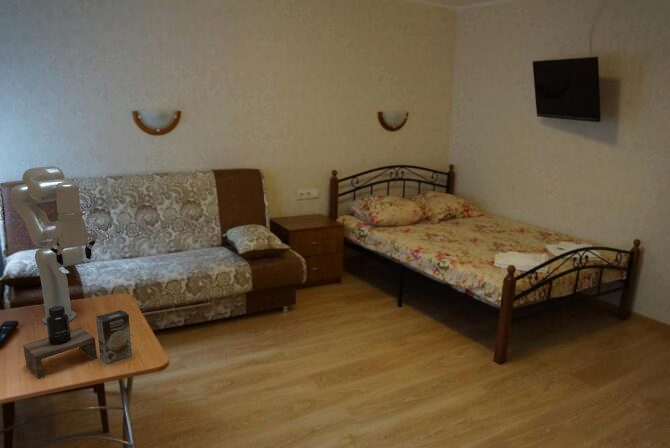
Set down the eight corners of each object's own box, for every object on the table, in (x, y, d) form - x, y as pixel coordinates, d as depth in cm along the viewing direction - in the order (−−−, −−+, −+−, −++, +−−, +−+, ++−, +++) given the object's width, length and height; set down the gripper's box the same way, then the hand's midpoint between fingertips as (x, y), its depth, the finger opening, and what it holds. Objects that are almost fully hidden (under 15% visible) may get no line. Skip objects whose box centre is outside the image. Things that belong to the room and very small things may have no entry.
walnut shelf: (26, 366, 174) (23, 344, 172) (83, 347, 188) (81, 327, 186) (38, 378, 166) (35, 356, 165) (97, 358, 180) (94, 337, 178)
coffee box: (107, 364, 175) (102, 321, 172) (99, 358, 180) (94, 316, 176) (133, 355, 182) (128, 314, 178) (125, 349, 186) (121, 309, 182)
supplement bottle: (61, 346, 172) (57, 313, 169) (44, 344, 173) (39, 311, 170) (75, 337, 178) (71, 305, 175) (58, 335, 179) (54, 303, 177)
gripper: (90, 211, 192) (94, 254, 197) (40, 218, 180) (46, 263, 185) (98, 214, 187) (102, 258, 192) (47, 222, 175) (53, 269, 180)
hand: (74, 261), depth 188 cm, fingers open, 9 cm apart
